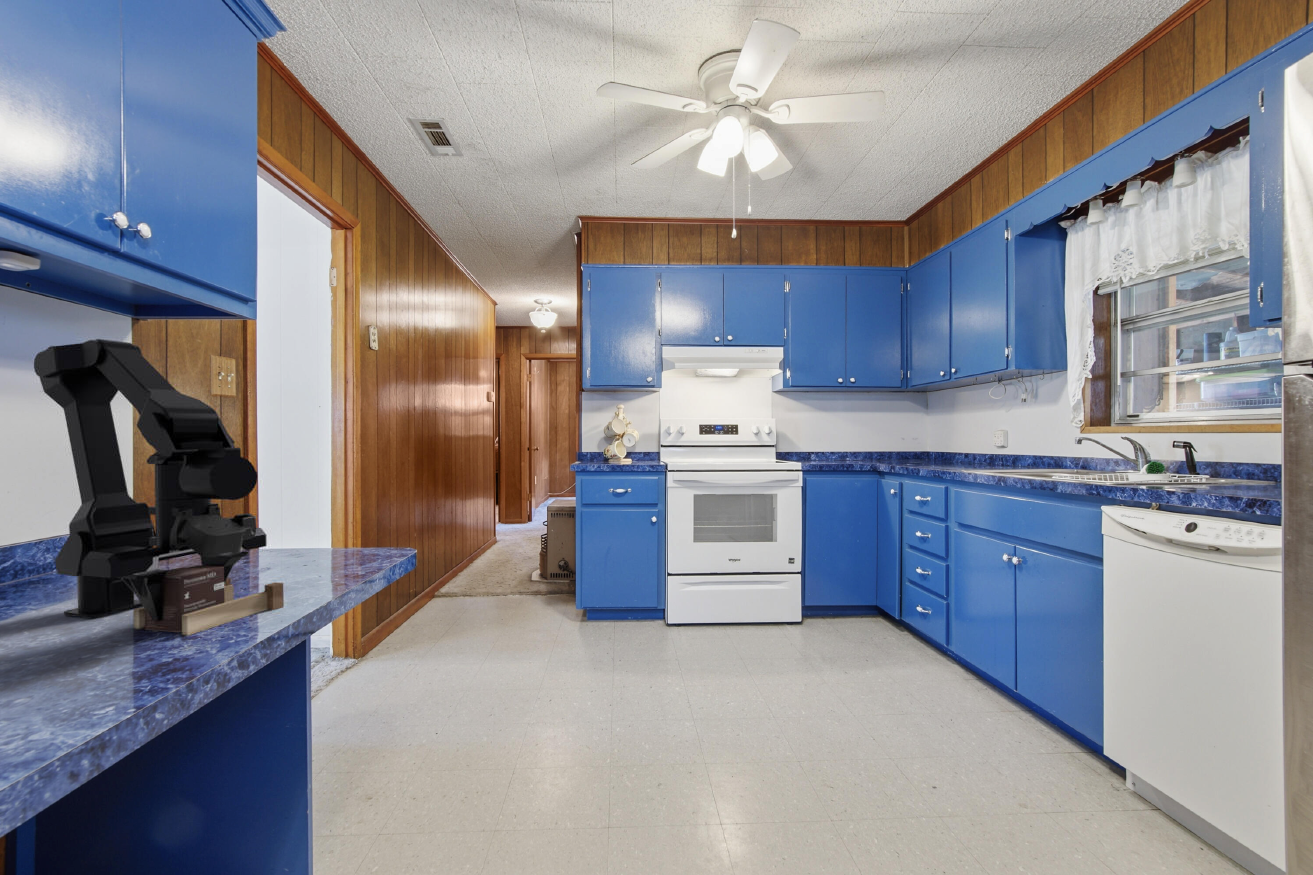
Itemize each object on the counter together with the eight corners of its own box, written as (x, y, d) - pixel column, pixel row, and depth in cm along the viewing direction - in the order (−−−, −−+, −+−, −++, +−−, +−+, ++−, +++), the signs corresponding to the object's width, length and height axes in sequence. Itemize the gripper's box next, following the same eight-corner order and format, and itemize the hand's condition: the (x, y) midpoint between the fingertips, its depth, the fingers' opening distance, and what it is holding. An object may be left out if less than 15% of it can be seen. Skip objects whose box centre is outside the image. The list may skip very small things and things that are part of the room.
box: (179, 634, 69) (178, 577, 69) (143, 631, 70) (142, 575, 70) (226, 617, 75) (225, 565, 75) (191, 615, 76) (191, 564, 76)
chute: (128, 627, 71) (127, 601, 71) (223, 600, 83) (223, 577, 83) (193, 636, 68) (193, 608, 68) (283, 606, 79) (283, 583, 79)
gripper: (141, 509, 61) (144, 645, 61) (293, 491, 79) (295, 596, 79) (78, 506, 64) (80, 635, 64) (238, 490, 82) (239, 591, 82)
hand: (185, 612), depth 72 cm, fingers closed on box, 6 cm apart
